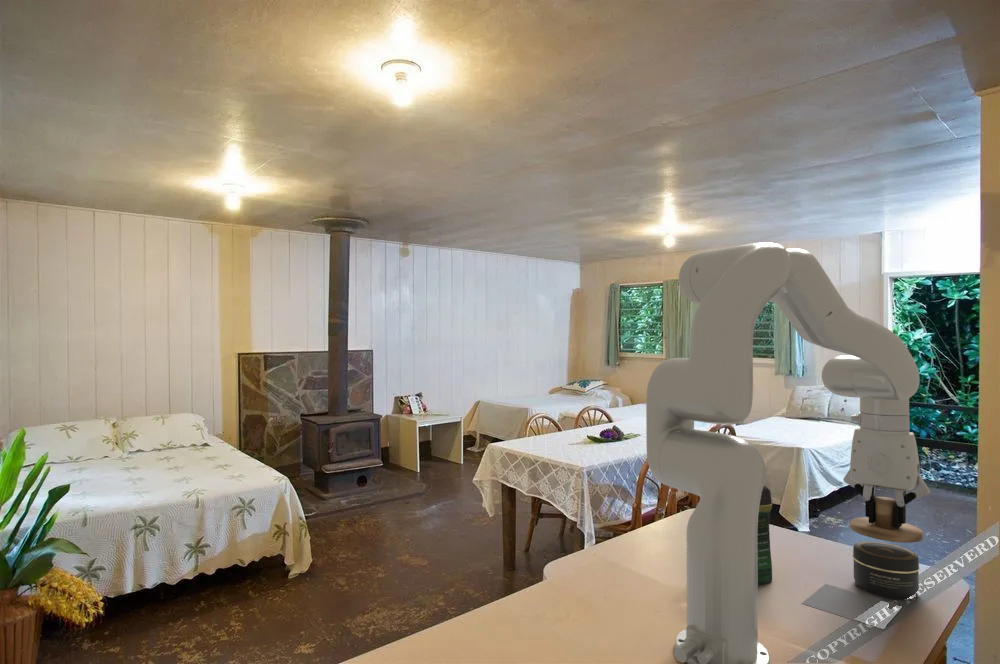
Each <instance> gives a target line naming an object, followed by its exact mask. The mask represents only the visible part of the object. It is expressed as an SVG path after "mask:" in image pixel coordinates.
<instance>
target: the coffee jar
mask: <svg viewBox="0 0 1000 664" xmlns="http://www.w3.org/2000/svg"><path fill="white" fill-rule="evenodd" d="M772 506H773V501H772V493H771V489H770V488H769V487H767V486H766V485H763V490H762V494H761V499H760V505H759V513H758V528H757V559H758V561H757V580H758V586H761V585H762V586H763V585H768V584H770V583H771V582H772V580H773V565H772V564H773V563H772V562H773V561H772V553H771V537H770V535H771V534H770V515H771V510H772Z"/></svg>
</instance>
